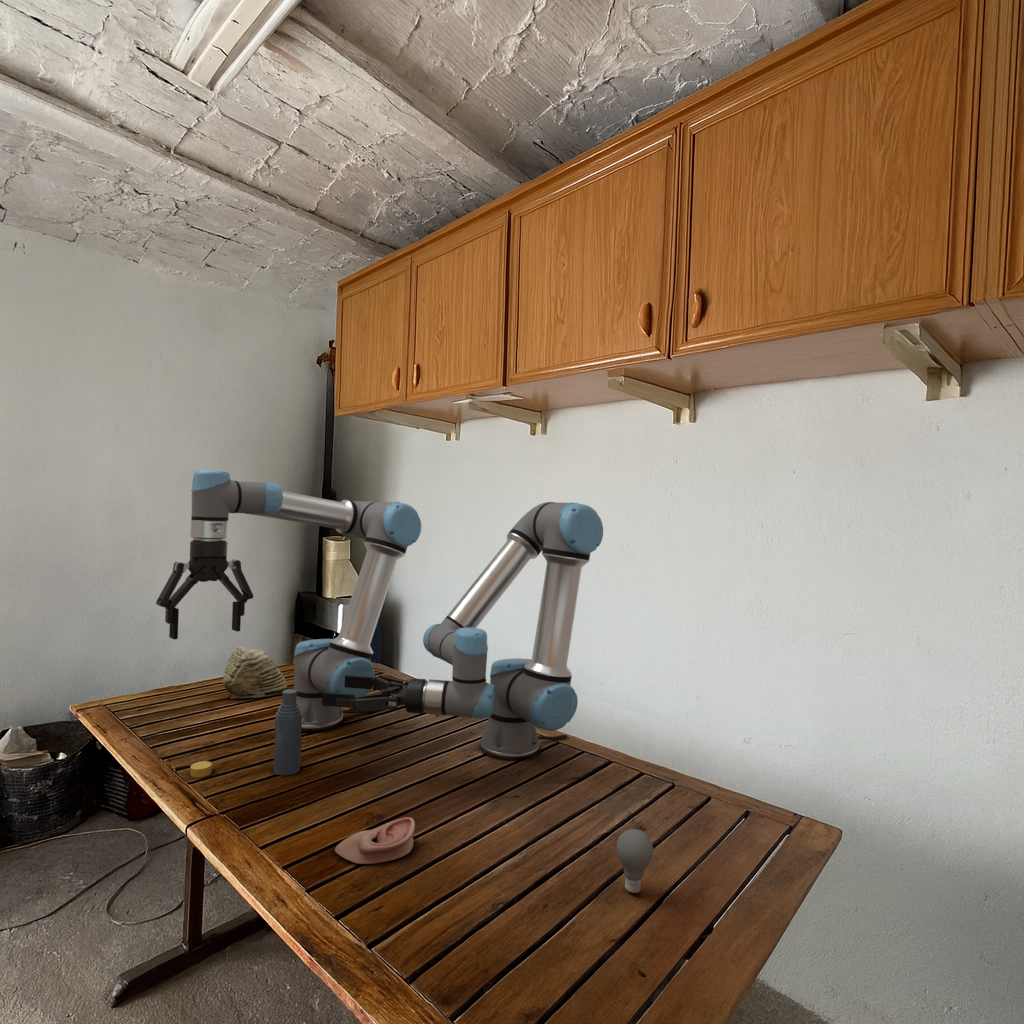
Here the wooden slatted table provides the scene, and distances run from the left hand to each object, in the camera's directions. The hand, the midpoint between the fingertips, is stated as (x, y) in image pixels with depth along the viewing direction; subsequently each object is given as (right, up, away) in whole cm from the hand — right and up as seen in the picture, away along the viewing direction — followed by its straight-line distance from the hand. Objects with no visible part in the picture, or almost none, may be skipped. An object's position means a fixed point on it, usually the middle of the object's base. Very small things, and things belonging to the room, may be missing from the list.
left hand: (205, 634), depth 142 cm
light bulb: (+89, -36, -36) cm, 102 cm away
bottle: (+17, -32, +4) cm, 36 cm away
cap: (-1, -30, +1) cm, 30 cm away
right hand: (+28, -13, +3) cm, 31 cm away
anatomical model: (+44, -34, -27) cm, 61 cm away
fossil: (-12, -30, +56) cm, 65 cm away
